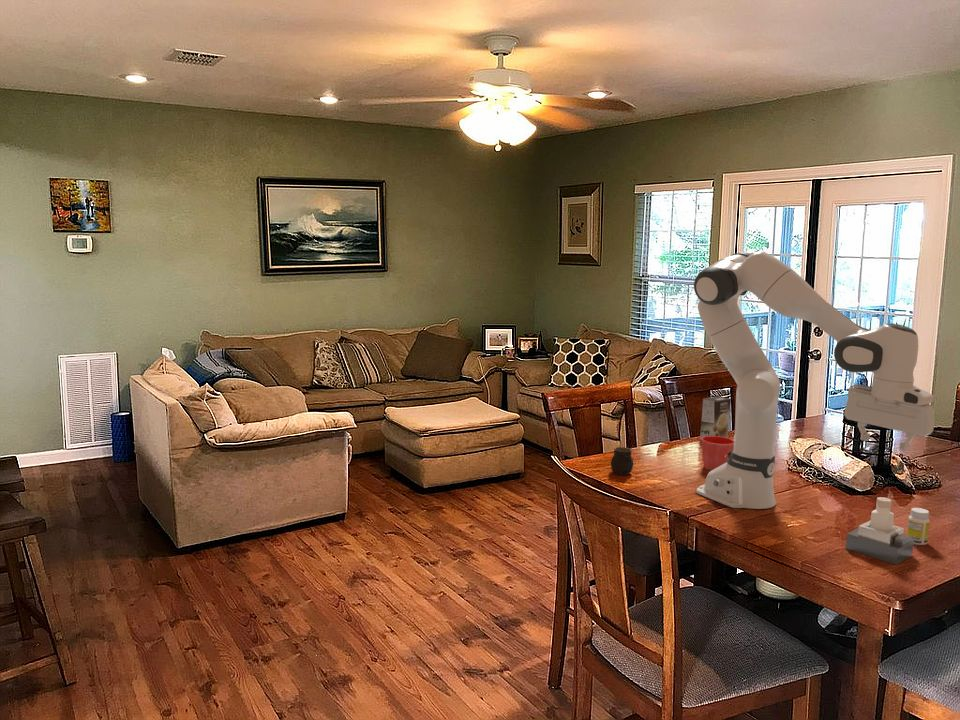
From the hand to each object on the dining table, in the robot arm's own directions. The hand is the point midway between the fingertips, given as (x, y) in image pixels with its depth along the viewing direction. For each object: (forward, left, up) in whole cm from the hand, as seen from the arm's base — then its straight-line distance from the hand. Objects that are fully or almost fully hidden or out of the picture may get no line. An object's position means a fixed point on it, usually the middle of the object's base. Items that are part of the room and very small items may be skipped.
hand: (883, 444), depth 194 cm
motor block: (+4, -5, -26) cm, 26 cm away
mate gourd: (-76, -6, -26) cm, 81 cm away
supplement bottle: (+7, +10, -26) cm, 28 cm away
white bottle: (+4, -5, -22) cm, 23 cm away
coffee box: (-83, +55, -26) cm, 103 cm away
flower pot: (-61, +24, -26) cm, 71 cm away
